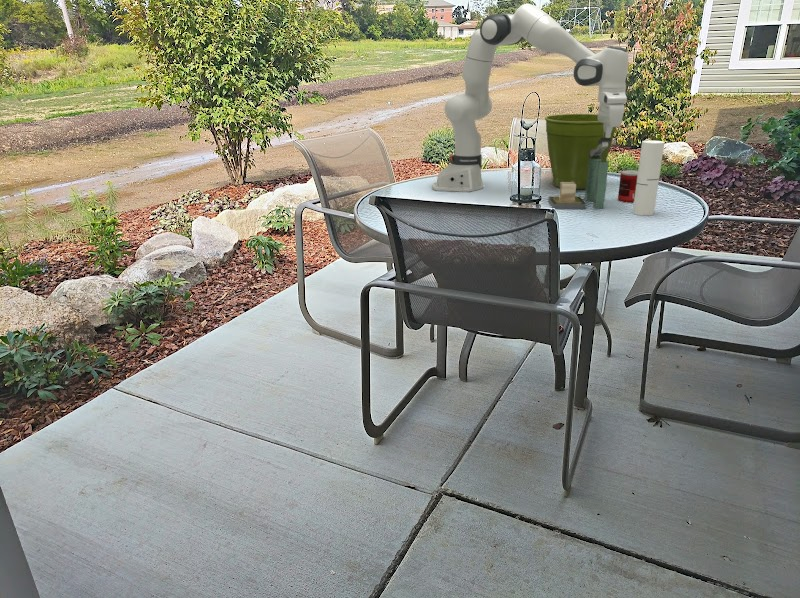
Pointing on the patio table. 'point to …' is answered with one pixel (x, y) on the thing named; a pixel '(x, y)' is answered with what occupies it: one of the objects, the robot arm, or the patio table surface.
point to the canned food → (627, 185)
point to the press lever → (600, 147)
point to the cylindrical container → (648, 177)
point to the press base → (588, 187)
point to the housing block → (567, 191)
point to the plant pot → (573, 145)
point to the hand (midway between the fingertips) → (606, 137)
